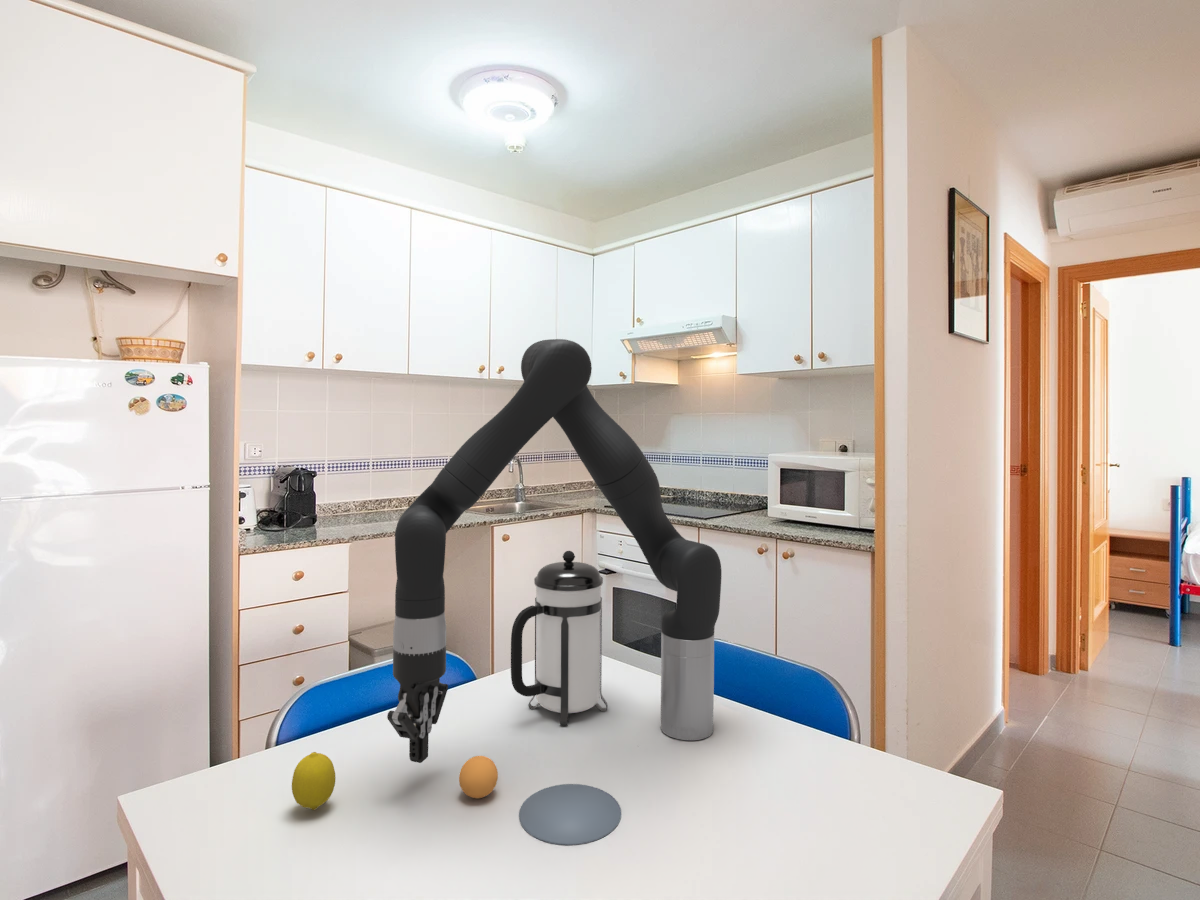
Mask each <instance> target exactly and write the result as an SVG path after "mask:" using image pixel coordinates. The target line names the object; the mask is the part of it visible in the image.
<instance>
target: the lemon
mask: <svg viewBox="0 0 1200 900" xmlns="http://www.w3.org/2000/svg"><path fill="white" fill-rule="evenodd" d="M332 761H333V760H331V758H330V757H328V756H327V755H326V754H323V753H321V752H316V751H313V752H311V753H310V754H308V755H306V756H304V757H303V758H302V759H301V760H300V761H299V762H298V763H297V765H296V766H295V768H294V770H293V774H292V779H291V780H292V781H291V792H292V795H293V798H294V800H295V802H296V803H297V804H298V805H299V806H300V807H302V808H305V809H310V810H312V811H315V810H317V809H318V808H319V807H321V806H323V804H325V803H326V802H327V801H328V800H329V799H330V797H331V796H332V795H333V793H334V791H335V790H334V789H335V786H336V771H335V770H336V769H335V766H334V764H333V762H332Z"/></svg>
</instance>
